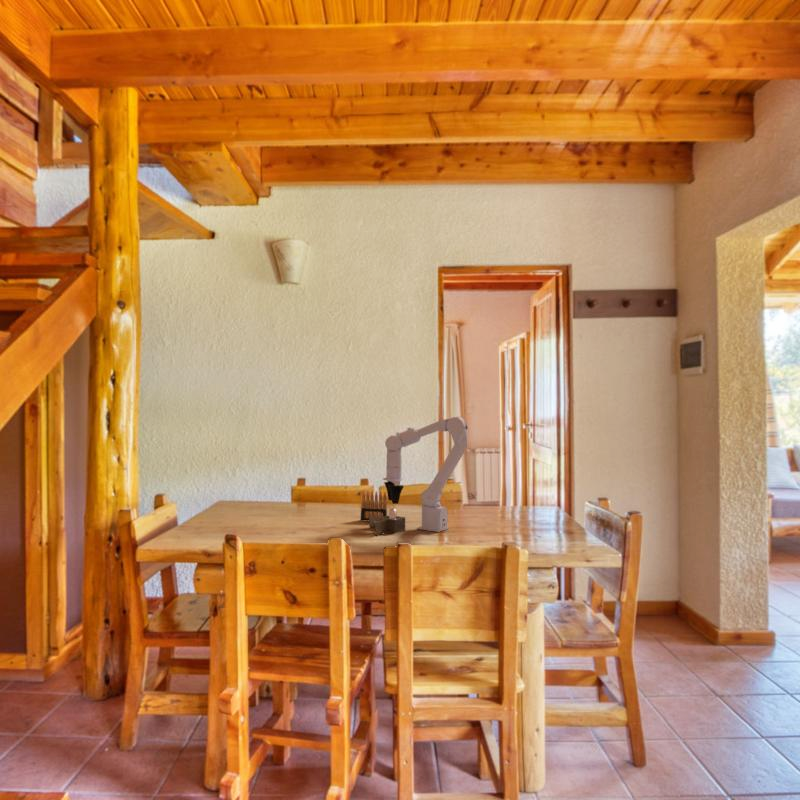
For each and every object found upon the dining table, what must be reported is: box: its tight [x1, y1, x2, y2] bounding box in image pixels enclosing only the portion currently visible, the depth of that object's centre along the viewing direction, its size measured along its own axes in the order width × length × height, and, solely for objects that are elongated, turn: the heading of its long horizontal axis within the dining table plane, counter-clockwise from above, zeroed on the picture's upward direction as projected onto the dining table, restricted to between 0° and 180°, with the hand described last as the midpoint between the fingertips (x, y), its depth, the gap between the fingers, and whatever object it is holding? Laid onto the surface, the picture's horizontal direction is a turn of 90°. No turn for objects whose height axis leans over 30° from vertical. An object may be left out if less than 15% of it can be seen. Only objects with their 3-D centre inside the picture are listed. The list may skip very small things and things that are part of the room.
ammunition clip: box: [360, 490, 388, 520], centre depth 243 cm, size 11×2×12 cm, turn 79°
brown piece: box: [368, 515, 406, 536], centre depth 224 cm, size 14×14×5 cm
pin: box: [388, 508, 398, 519], centre depth 225 cm, size 3×3×8 cm
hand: (393, 501), depth 233 cm, fingers open, 7 cm apart
